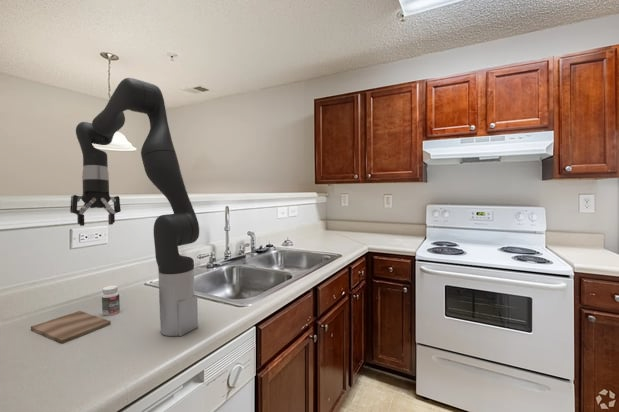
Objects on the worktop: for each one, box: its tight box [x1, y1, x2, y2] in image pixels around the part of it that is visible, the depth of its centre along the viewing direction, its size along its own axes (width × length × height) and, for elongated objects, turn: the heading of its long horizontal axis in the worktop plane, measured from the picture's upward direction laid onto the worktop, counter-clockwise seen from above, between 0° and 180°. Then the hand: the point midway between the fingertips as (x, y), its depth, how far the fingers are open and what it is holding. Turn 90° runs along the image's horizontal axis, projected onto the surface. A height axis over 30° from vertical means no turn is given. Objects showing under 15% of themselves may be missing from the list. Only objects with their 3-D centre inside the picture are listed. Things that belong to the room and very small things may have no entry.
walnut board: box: [30, 310, 112, 344], centre depth 84 cm, size 17×12×1 cm
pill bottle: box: [101, 285, 121, 316], centre depth 93 cm, size 5×5×8 cm
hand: (97, 225), depth 101 cm, fingers open, 8 cm apart
